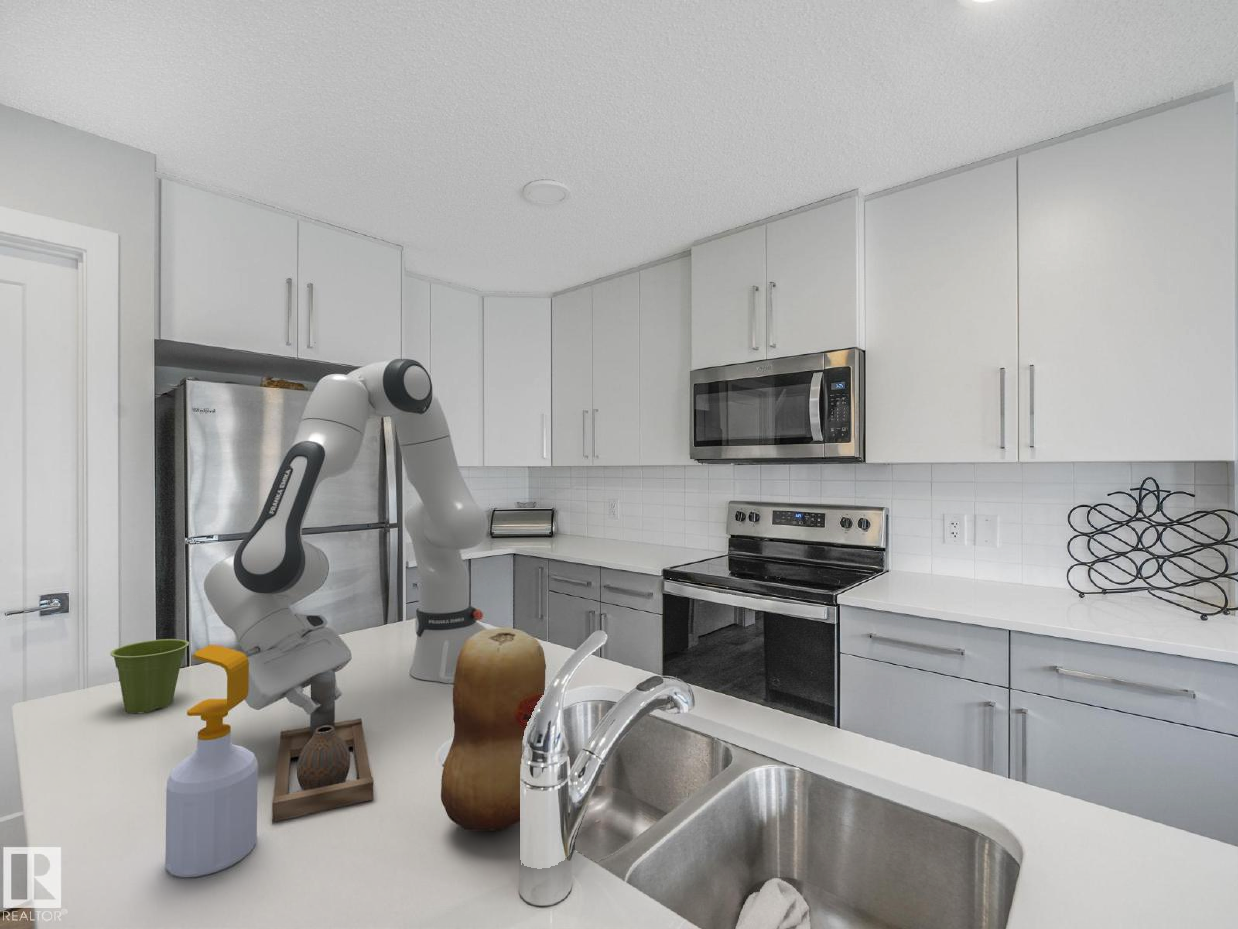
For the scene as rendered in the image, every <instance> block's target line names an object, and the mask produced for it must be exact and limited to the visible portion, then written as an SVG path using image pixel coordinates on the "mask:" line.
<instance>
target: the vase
mask: <svg viewBox="0 0 1238 929" xmlns="http://www.w3.org/2000/svg"><path fill="white" fill-rule="evenodd" d="M350 768H351V754H350V749H349V747H348V746H347V744H346V742H345V741H344V740H343V739H342V738H341V737H340V736H339V735H338V734H337V733H336V731H335V729H334V727H333V726H329V725H327V726H321V727H319V728H317V729H316V730H315V732H314V734H313V736H312V738H311V739H310V740H309V742H308V743H307V744H306V745H305V747H304V748H303V750H302V752H301V754H300V756H298V760H297V763H296V778H297V783H298V785H299V788H300V789H301V790H302V791H305V790H310V789H315V788H320V787H325V786H330V785H334V784H339V783H344V782H346V780H347V779H348V778H347V777H348V775H349V773H350Z"/></svg>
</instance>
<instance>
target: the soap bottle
mask: <svg viewBox="0 0 1238 929" xmlns="http://www.w3.org/2000/svg"><path fill="white" fill-rule="evenodd" d="M192 658H193V659H195V660H198V661H201V662H206V663H209V664H213V665H216V666H219V667H221V668H223V669H224V670H225V672H226V677H227V678H226V680H227V681H226V683H227V684H226V698H209V699H204V700H201V701H200V702H198V703H197V704H195V705H193V706H192V707H191V708H189V709H187V710H186V715H187V716H188V717H196V716H197V717H199V716H200V721H204V722H205V727H202V728H201V729H199V730H198V731H197V747H196V748H197V749H196V751H194V752H193V753H191V754H189V755H188V756H186V757H185V758H183V759H182V761H180V762H179V763H178V764H177V765H176V766H175V767H174V768H173V769H172V770H171V772H170V774H169V776H168V779H167V781H166V789H165V791H166V794H165V795H166V796H165V797H166V798H165V802H166V803H165V854H164V855H165V858H164V859H165V860H164V861H165V864H164V865H165V869H166V870H167V872H168V873H169V874H171V876H176V877H180V878H197V877H202V876H206V875H210V874H213V873H214V874H215V873H217V872H219V871H221V870H224V869H226V868H230V867H231V866H233V865H235V864H236V863H238V862H239V861H241V860H243V859H244V858H245V857H246V856H247V855H248V854H249V853H251V852H252V850H253V848H254V847H255V845H256V843H257V841H258V839H257V838H258V783H259V782H258V781H259V780H258V776H259V775H258V773H259V764H258V760H257V757H256V756H255V753H254V752H252V751H250V750H249V749H247V748H246V747H243V746H242V745H236V744H233V743H232V742H231V730H232V729H231V725H230V724H227V723H224V721H223V720H224V718H225V717H227V716H228V715H229V712H230V711H231V710H232V709H235V707H237V706H238V705H239V704H242V702H243V701H245V699H246V698H247V696H248V691H249V661H248V658H247V656H246V655H245V654H243V652H242V651H238V650H235V649H232V648H228V647H224V646H221V645H218V644H209V645H207V646H204V647H203V648H201V649H199V650H196V651H195V652H194V653H193V655H192Z"/></svg>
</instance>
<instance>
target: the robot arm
mask: <svg viewBox="0 0 1238 929" xmlns="http://www.w3.org/2000/svg"><path fill="white" fill-rule="evenodd" d="M388 417H389V418H390V419H391V420H392V422H393V424H394V425H395V430H396V434H397V442H398V444H399V449H400V454H401V458H402V462H403V465H404V470H405V474H406V478H407V479H408V481H409V483H410V484H411V486H412V487H413V489H415V491H416V493H417V494H418V496H419V499H420V500H417V501H415V502H413V503H412V504H410V506H409V507H408V509H407V510H406V512H405V516H404V526H405V529H406V531H407V533H408V534H409V536H410V539H411V543H412V548H413V551H414V552H413V553H414V558H415V561H416V562H415V563H416V568H417V576H418V585H417V586H418V593H417V594H418V596H417V597H418V603H417V604H418V607H417V609H416V611H415V621H414V622H415V628H414V629H415V634H416V639H415V640H416V641H415V642H416V643H415V648H414V654H413V659H412V663H411V666H410V670H409V675H410V676H412V677H414V678H415V679H419V680H423V681H431V682H432V681H434V682H441V683H444V684H453V683H454V677H455V671H456V665H457V660H458V657H459V654H460V651H461V649H462V647H463V646H464V644H465V643H466V641H467V640H468V639H469V638H470V637H471V636H473V635H474V634H476V633H478V632H480V631H483V630H487V629H488V628H487V627H485V626H484V625H482V624H481V623H480V622H478V621H480V620H482V618H483V617H484V612H483V611H481V609H477V607H476V608H475V606H472V605H470V572H469V570H468V568H467V566H466V564H465V562H464V560H463V556H462V553H461V550H467V549H468V550H469V549H471V548H475V547H477V546H479V545H480V544H481V543H482V542H483V541H484V539H485V538H486V536H487V533H488V531H489V520H488V516H487V514H486V512H485V511H484V510H483V508H482V507H481V506H479V505H478V504H477V502H476V500H475V499H474V498H473V495H472V494H471V491H470V490H469V488H468V486H467V483H466V482H465V479H464V478H463V475H462V473H461V471H460V467H459V464H458V462H457V457H456V456H457V455H456V453H455V449H454V445H453V441H452V436H451V433H450V429H449V424H448V422H447V418H446V416H445V413H444V410H443V408H442V406H441V404H440V401H439V399H438V396H436V394H435V393H433V384H432V379H431V376H430V375H429V372H428V371H427V369H426V368H425V367H424V366H423V364H421V363H420V362H419V361H417V360H415V359H411V358H410V359H409V358H395V359H393V360H383V361H375V362H373V363H370V364H368V365H365V366H362V367H360V368H355V369H349V370H348V371H346V372H344V373H343V374H342V373H333V374H328V375H326V376H323V377H322V378H321V379H319V381H318V382H317V384H316V385H315V387H314V389H313V391H312V393H311V394H310V397H309V399H308V401H307V403H306V405H305V408H304V411H303V413H302V417H301V419H300V422H299V427H298V428H297V432H296V435H295V438H294V440H293V443H292V445H291V448H290V449H289V450H288V451H287V452H286V455H285V456H284V457H283V458H284V459H283V460H282V463H281V464H280V467H279V469H278V471H277V474H276V476H275V478H274V481H273V483H272V486H271V489H270V491H269V493H268V495H267V498H266V501H265V503H264V505H263V508H262V510H261V512H260V515H259V517H258V519H257V521H256V523H255V524H254V525H253V527H252V529H251V530H250V531H249V533H247V535H246V536H245V537H244V538H243V540H241V542H240V543H239V545H238V547H237V549H236V551H235V554H234V555H233V554H232V555H230V556H227V557H225V558H224V559H222V560H220V561H219V562H217V563H216V564H215V565H214V566H213V567H212V568H211V569H210V571H208V574H207V575H206V577H205V578H204V581H203V582H204V583H203V590H204V593H205V596H206V598H207V600H208V602H209V604H210V605H211V607H212V609H213V610H214V612H215V614H217V616H218V618H219V620H220V621H221V622H222V623H223V624H224V625H225V626H226V627H227V628H229V629H230V630H232V632H233V633H234V634H235V637H236V640H237V643H238V644H239V645H240V648H242V650H243V652H242V653H243V654H245V655H246V656H247V658H248V661H249V691H248V696H247V698H246V699H245V700H244V701H245V703H246V704H247V706H248V707H249V708H252V709H254V710H257V711H260V710H262V709H264V708H266V707H268V706H270V705H272V704H274V703H276V702H278V701H281V700H282V699H284V698H286V699H287V701H289V703H290V704H292V705H295V706H297V707H299V708H302V709H303V710H304V712H305V713H306V715H308V716H309V715H310V714H312V713H313V712H315V711H317V710H318V709H319V708H320V706H321V704H320V702H318V700H317V698H316V697H314V698H312V699H311V696H309V695H307V694H306V693H303V692H304V689H305V688H306V687H310V686H311V677H312V676H314V675H316V674H318V673H323V672H332V673H335V674H336V673H338V672H340V671H341V670H343V669H344V667H346V666H347V665H348V664H349V663H350V662H351V661H352V659H353V658H352V652H351V649H350V647H348V645H347V644H346V643H345V641H344V640H343V639H342V638H341V636H340V635H339V634H338V633H337V632H336V631H335V630H334V629H333V628H331V627H327V625H328V620H327V619H326V617H325V616H324V615H322V614H303V613H298V612H297V613H295V612H294V611H293V610H292V609H291V608H290V606H291V605H294V604H296V603H297V602H299V601H301V600H303V599H304V598H307V597H308V596H310V595H311V594H313V593H315V592H316V591H318V590H319V589H320V588H321V587H322V586H323V585H324V584H325V581H326V580H327V578H328V576H329V570H330V565H329V560H328V557H327V555H326V554H325V553H324V552H323V551H322V550H321V549H320V548H318V547H316V546H314V545H313V544H311V543H309V542H307V541H305V540H304V539H303V534H302V532H303V531H302V529H303V525H304V523H305V521H306V518H307V514H308V512H309V509H310V507H311V503H312V502H313V498H314V495H315V492H316V491H317V488H318V486H319V485H321V483H322V482H323V481H324V480H326V479H328V478H335V477H338V476H341V475H343V474H345V473H346V472H349V471H350V470H351V469H352V468H353V467H354V465H355V462H356V460H357V459H358V457H359V455H360V452H361V448H362V445H363V441H364V437H365V432H366V430H367V429H366V427H367V422H368V420H369V419H380V418H388ZM336 677H337V676H336V675H335V701H337V700H338V699H339V698H341V697H342V694H343V693H342V691H341V689H340V688H339V687H338V684H337V678H336Z"/></svg>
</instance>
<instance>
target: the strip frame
mask: <svg viewBox="0 0 1238 929" xmlns="http://www.w3.org/2000/svg"><path fill="white" fill-rule="evenodd" d="M335 676H336V673H332V672H323V673H318V674H316V675H314V676H312V677H311V685H310V698H311V699H312V698H314V697H316V698H317V700H318V702H320V704H321V706H320V708H319V709H318V710H317V711H315V712H313V713H312V714H310V717H309V718H310V719H309V725H310V726H307V727H301V728H296V729H295V728H293V729H288V730H282V731H280V736H279V746H278V755H277V763H276V764H277V765H276V772H275V773H276V774H275V781H274V789H273V796H272V802H271V803H272V804H271V805H272V806H271V808H272V809H271V810H272V811H271V813H272V815H271V822H272V823H274V822H277V821H282V820H286V819H290V818H291V819H292V818H295V817H300V816H304V815H309V814H313V813H317V812H322V811H326V810H330V809H331V810H332V809H335V808H340V807H341V808H342V807H345V806H348V805H353V804H357V803H363V802H367V801H372V800H374V778H373V776H372V770H371V765H370V760H369V755H368V749H367V745H366V738H365V733H364V729H363V728H364V727H363V719H362V718H355V719H348V720H343V721H337V722H336V720H335V719H336V717H335V716H336V700H335ZM327 725H329V726H333V727H334V729H335V731H336V733H337V734H338V735H339V736H340V737H341V738H342V739H343V740H344V741H345V742H346V744H347V746H348V748H349V747H350V748H351V747H352V749H353V758H354V764H355V772H356V779H355V780H350V781H344V783H339V784H334V785H330V786H325V787H320V788H315V789H310V790H305V791H303V790H302V791H297V792H292V793H289V788H290V786H289V785H290V772H291V771H290V770H291V758H296V757H299V756H300V754H301V752H302V750H303V748H304V747H305V745H306V744H307V743H308V742H309V740H310V739H311V738H312V736H313V734H314V732H315V730H316V729H317V728H319V727H321V726H327Z"/></svg>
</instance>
